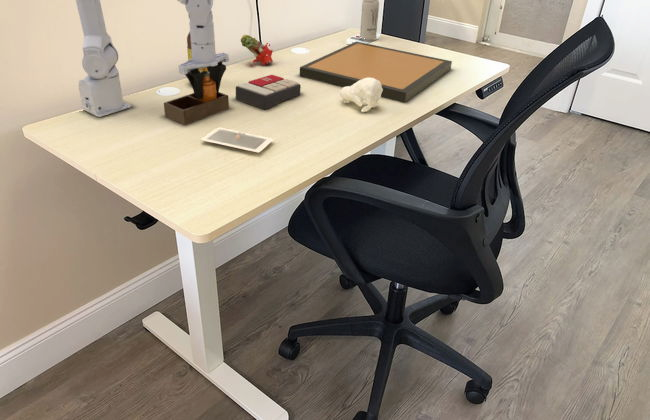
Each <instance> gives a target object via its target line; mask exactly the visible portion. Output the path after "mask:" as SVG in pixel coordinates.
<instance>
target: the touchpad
mask: <svg viewBox="0 0 650 420" xmlns="http://www.w3.org/2000/svg"><path fill="white" fill-rule="evenodd" d="M199 140H200V141H204V142H208V143H212V144H217V145H222V146H225V147H230V148H236V149H240V150H244V151H248V152H254V153H258V154H259V153H261V152H262V151H263V150H264V149H265V148H266V147H267V146H269V144H271V143H272V142H273V141H274V140H275V138H272V137H267V136H264V135H263V136H262V135H258V134H253V133H250V132H249V133H248V132H243V131H240V130H234V129H230V128H224V127H220V126H218V127H216V128H214V129H213V130H212V131H210V132H209V133H208V134H206V135H205V136H203V137H202V138H200V139H199Z"/></svg>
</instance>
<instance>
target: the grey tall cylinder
mask: <svg viewBox="0 0 650 420" xmlns="http://www.w3.org/2000/svg"><path fill="white" fill-rule="evenodd" d="M361 3H362V4H361V16H360V17H361V18H360V31H359V38H360V40H361V41H363V42H374V41H375V39H376V38H377V34H378V33H377V31H378V20H379V8H380V1H379V0H362V2H361ZM361 37H362V38H361ZM364 38H365V39H364Z"/></svg>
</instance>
